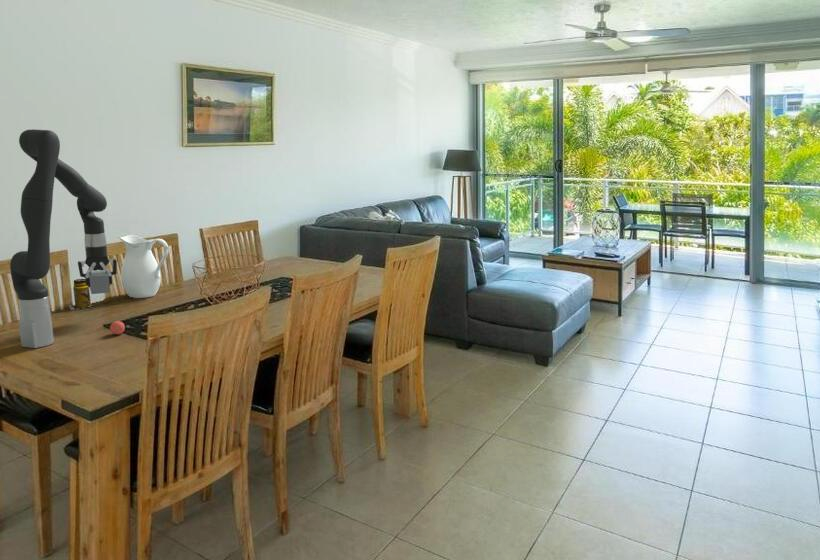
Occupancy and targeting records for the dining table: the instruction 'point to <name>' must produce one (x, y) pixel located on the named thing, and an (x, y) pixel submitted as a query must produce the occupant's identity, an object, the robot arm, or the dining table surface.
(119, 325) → the ball
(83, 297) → the condiment
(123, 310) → the dining table surface
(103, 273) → the grey rectangular block
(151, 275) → the pitcher
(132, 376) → the dining table surface
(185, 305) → the dining table surface
